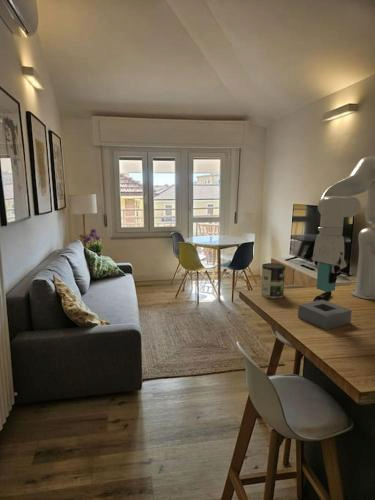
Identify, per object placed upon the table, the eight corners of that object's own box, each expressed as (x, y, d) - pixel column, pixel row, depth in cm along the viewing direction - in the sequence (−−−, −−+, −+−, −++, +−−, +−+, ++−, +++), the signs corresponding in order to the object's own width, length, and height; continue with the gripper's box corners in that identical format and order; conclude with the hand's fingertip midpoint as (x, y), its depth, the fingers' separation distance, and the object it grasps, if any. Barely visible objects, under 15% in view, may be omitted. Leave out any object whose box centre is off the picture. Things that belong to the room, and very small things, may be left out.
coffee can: (285, 293, 152) (287, 264, 149) (280, 299, 143) (282, 269, 140) (264, 290, 157) (265, 262, 154) (258, 296, 148) (259, 266, 146)
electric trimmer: (333, 297, 148) (334, 290, 148) (321, 305, 137) (321, 298, 137) (325, 295, 151) (325, 288, 150) (312, 303, 140) (312, 296, 139)
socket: (297, 317, 123) (298, 304, 122) (321, 311, 129) (322, 299, 128) (326, 330, 112) (327, 316, 111) (350, 323, 118) (351, 310, 117)
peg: (316, 288, 119) (318, 262, 117) (324, 287, 121) (327, 261, 119) (326, 291, 115) (328, 264, 114) (334, 290, 117) (337, 263, 116)
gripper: (304, 229, 120) (301, 277, 123) (344, 235, 105) (339, 288, 109) (318, 228, 124) (315, 274, 127) (359, 234, 109) (354, 285, 112)
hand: (326, 280), depth 118 cm, fingers closed on peg, 4 cm apart
